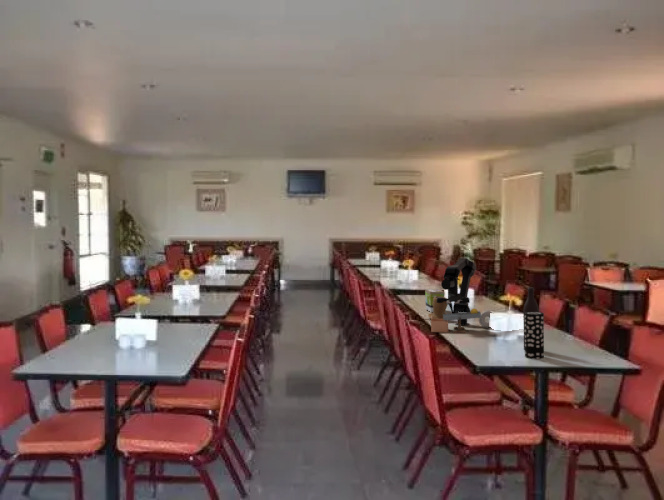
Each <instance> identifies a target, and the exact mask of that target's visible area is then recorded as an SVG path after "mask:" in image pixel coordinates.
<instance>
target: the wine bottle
mask: <svg viewBox="0 0 664 500" xmlns="http://www.w3.org/2000/svg"><path fill="white" fill-rule="evenodd" d="M527 292H528V293H527V298H526V301H525V303H524V305H523V311H522V312H523V314H522V315H523V316H522V317H523V318H522V319H523V350H524V351H525V314H524V313H526V312H540V311H539V308H540V307H539V305H538V303H537V301H536V298H535V295H534V294H535V293H534V292H535V288H534V287H528V288H527Z"/></svg>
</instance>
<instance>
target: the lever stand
mask: <svg viewBox="0 0 664 500" xmlns="http://www.w3.org/2000/svg"><path fill="white" fill-rule="evenodd" d="M457 323H458V325H457V326H453V330H454V331H453V332H454V333H455V334H458V333H459V334H464V333H466V330H465V326H462V325H461V318H459V320H457Z"/></svg>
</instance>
